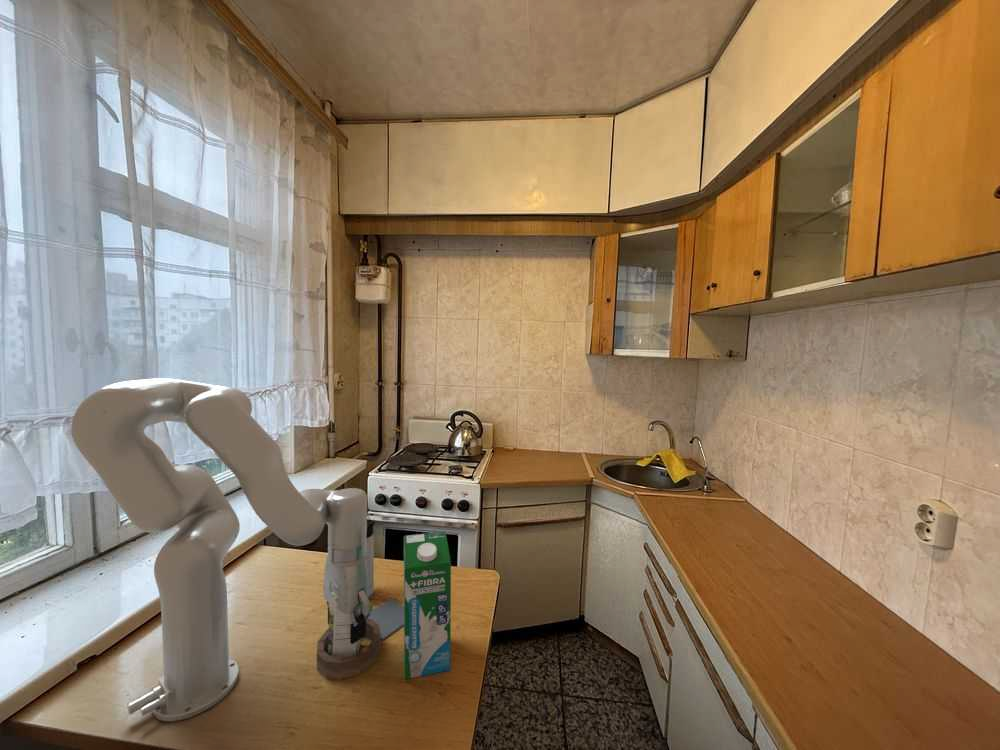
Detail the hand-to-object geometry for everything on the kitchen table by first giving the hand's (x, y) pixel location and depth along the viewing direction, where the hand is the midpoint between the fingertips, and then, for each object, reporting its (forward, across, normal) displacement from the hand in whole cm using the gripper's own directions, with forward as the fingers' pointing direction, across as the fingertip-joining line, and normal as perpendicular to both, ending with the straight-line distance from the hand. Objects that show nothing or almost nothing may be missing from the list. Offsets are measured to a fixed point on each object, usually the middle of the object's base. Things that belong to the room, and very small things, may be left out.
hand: (346, 629), depth 79 cm
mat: (+5, -2, +12) cm, 13 cm away
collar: (+6, 0, +1) cm, 6 cm away
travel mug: (+6, -15, +14) cm, 21 cm away
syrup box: (+5, 0, 0) cm, 5 cm away
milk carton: (+5, +14, +10) cm, 18 cm away
